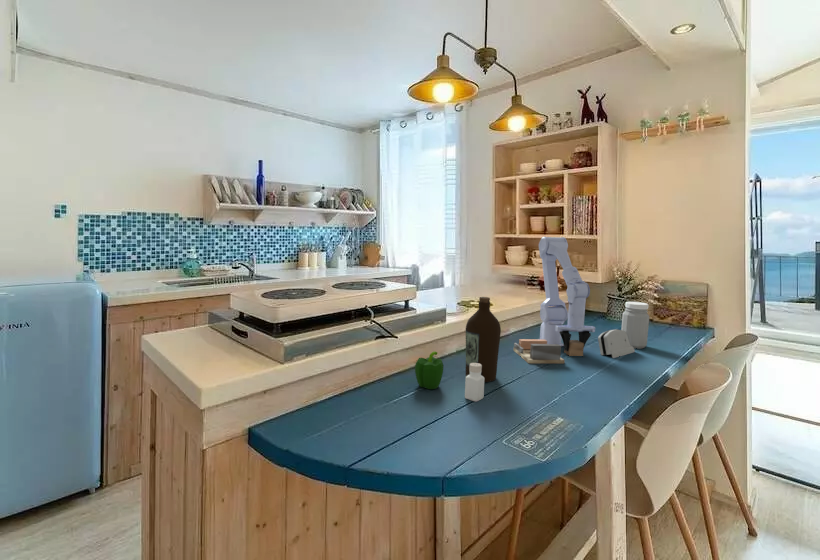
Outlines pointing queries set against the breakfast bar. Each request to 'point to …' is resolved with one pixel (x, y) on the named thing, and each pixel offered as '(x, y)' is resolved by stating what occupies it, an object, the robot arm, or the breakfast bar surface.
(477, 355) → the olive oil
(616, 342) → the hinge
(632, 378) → the breakfast bar surface
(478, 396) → the white pill bottle
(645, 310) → the jar
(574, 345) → the block
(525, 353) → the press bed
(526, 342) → the block
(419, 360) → the bell pepper
